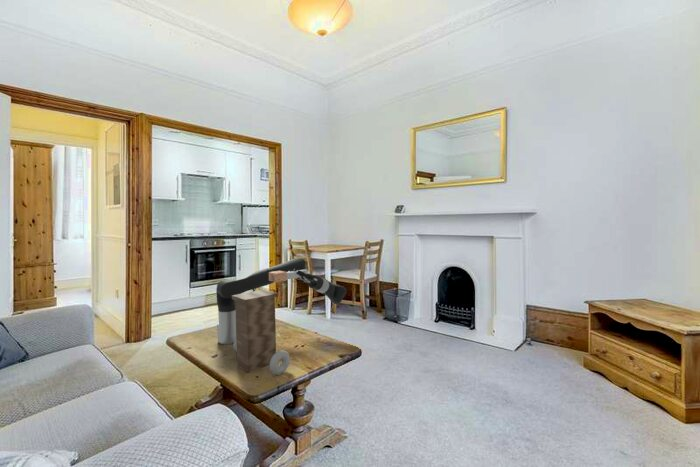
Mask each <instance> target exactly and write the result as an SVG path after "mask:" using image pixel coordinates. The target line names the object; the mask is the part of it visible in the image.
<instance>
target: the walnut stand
mask: <svg viewBox="0 0 700 467" xmlns="http://www.w3.org/2000/svg"><path fill="white" fill-rule="evenodd" d="M252 291H253V290H252ZM252 291H249V292H248V291H247V292H244V293H241V294H237V295H232V299H233V300H235V309H236V344H237V351H236V367H238V368H240V369H241V370H243V371H244V372H246V373H247V374H248V373H253V372H255V371H258V370H260V369H262V368H265V367H268V366H270V361H271V358H272V356H273V355H274V354H275V353H276V352H277V336H276V334H277V330H276V327H277V326H276V298H279V294H278V292H273V291H272V290H271V291H270V290H267V289H260V290H255V291H253V292H252Z"/></svg>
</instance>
